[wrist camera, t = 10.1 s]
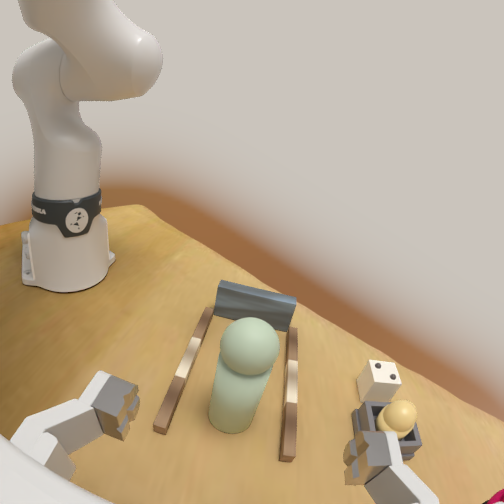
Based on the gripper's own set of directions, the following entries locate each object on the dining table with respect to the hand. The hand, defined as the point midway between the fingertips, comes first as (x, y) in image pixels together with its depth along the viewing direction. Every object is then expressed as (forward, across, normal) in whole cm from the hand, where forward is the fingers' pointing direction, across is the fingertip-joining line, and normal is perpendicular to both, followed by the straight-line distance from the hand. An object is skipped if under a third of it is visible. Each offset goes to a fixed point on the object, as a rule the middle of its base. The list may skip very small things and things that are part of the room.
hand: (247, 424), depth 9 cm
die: (+19, +18, -18) cm, 31 cm away
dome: (+12, +17, -15) cm, 26 cm away
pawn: (+12, 0, -18) cm, 21 cm away
